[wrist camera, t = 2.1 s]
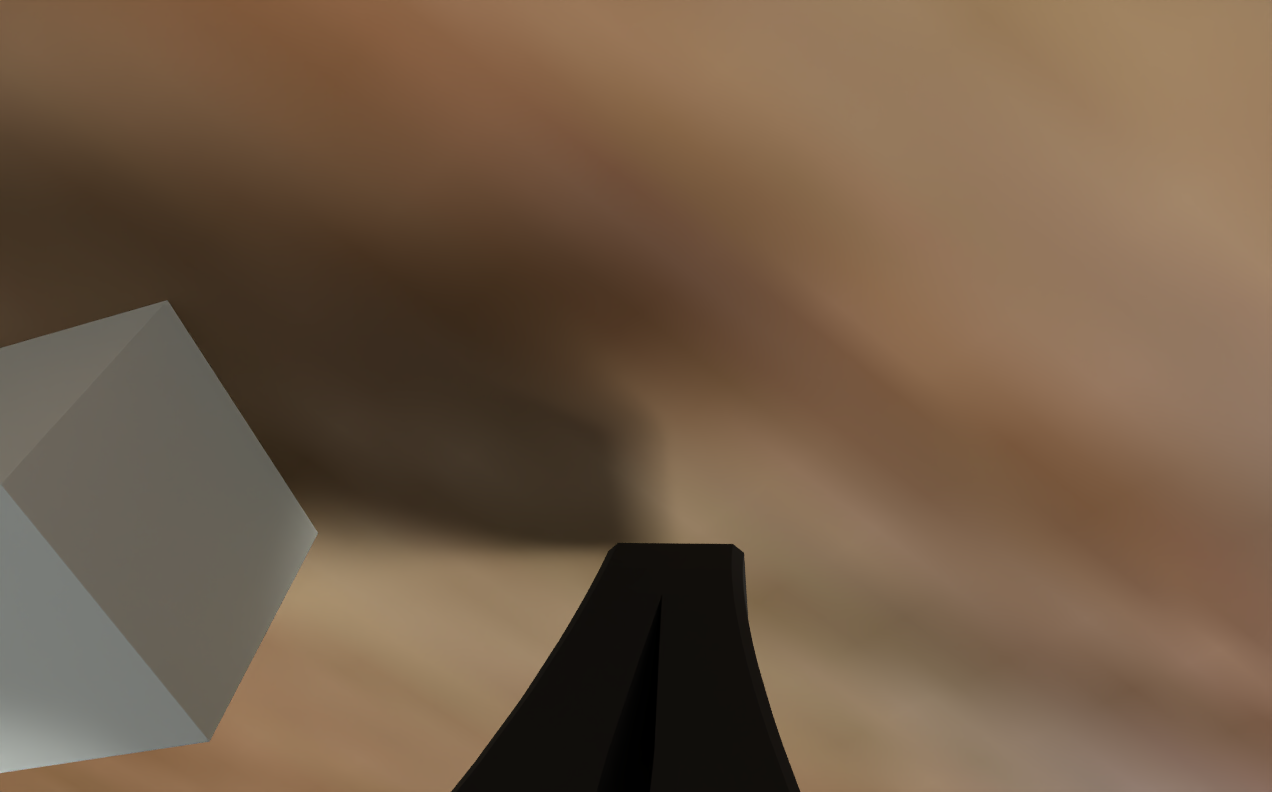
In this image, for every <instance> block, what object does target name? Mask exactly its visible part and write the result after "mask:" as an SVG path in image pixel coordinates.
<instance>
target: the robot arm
mask: <svg viewBox="0 0 1272 792" xmlns="http://www.w3.org/2000/svg"><path fill="white" fill-rule="evenodd" d="M451 792H800V789H799V787H798V784H797V782H796V779H795V776H794V774H793V771H792V768H791V766H790V763H789V760H788V758H787V755H786V752H785V750H784V747H783V744H782V741H781V738H780V735H779V732H778V729H777V726H776V723H775V720H774V717H773V714H772V711H771V708H770V704H769V701H768V697H767V694H766V691H765V687H764V684H763V680H762V677H761V674H760V670H759V667H758V663H757V659H756V655H755V651H754V647H753V642H752V637H751V632H750V627H749V622H748V610H747V594H746V578H745V562H744V553H743V552H742V551H741V550H740V549H738V548H737V547H736V546H735V545H733V544H668V543H617V544H616V545H615V546H614V547H613V548H612V549H610V550H609V551H608V553H607V555H606V557H605V559H604V561H603V563H602V565H601V567H600V569H599V571H598V573H597V575H596V577H595V579H594V581H593V583H592V585H591V586H590V588H589V590H588V592H587V594H586V596H585V597H584V599H583V601H582V603H581V604H580V606H579V608H578V610H577V611H576V613H575V615H574V616H573V618H572V620H571V622H570V623H569V625H568V627H567V628H566V630H565V632H564V633H563V635H562V637H561V638H560V640H559V642H558V643H557V645H556V646H555V648H554V649H553V651H552V652H551V654H550V655H549V657H548V659H547V660H546V662H545V663H544V665H543V666H542V668H541V669H540V671H539V672H538V674H537V675H536V677H535V679H534V680H533V682H532V683H531V685H530V686H529V688H528V689H527V691H526V692H525V694H524V695H523V697H522V698H521V700H520V701H519V703H518V704H517V705H516V707H515V708H514V710H513V711H512V712H511V714H510V715H509V716H508V718H507V719H506V720H505V722H504V723H503V725H502V726H501V727H500V729H499V730H498V731H497V733H496V734H495V735H494V737H493V738H492V739H491V741H490V742H489V744H488V745H487V746H486V748H485V749H484V750H483V752H482V753H481V754H480V756H479V757H478V759H477V760H476V761H475V762H474V764H473V765H472V766H471V768H470V769H469V770H468V771H467V773H466V774H465V775H464V776H463V778H462V779H461V780H460V781H459V783H458V784H457V785H456V786H455V788H454V789H453V790H452V791H451Z"/></svg>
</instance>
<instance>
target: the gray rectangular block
mask: <svg viewBox="0 0 1272 792" xmlns="http://www.w3.org/2000/svg"><path fill="white" fill-rule="evenodd" d="M317 534H318V532H317V530H316V529H315V527H314V526H313V524H312V523H311V521H310V520H309V518H308V516H307V515H306V513H305V512H304V510H303V509H302V507H301V506H300V504H299V503H298V501H297V499H296V498H295V496H294V495H293V493H292V492H291V490H290V489H289V487H288V486H287V484H286V482H285V481H284V479H283V478H282V476H281V475H280V473H279V472H278V470H277V469H276V467H275V465H274V464H273V462H272V461H271V459H270V458H269V456H268V455H267V453H266V452H265V450H264V448H263V447H262V445H261V444H260V442H259V441H258V439H257V438H256V436H255V435H254V433H253V431H252V430H251V428H250V427H249V425H248V424H247V422H246V421H245V419H244V418H243V416H242V415H241V413H240V411H239V410H238V408H237V407H236V405H235V404H234V402H233V401H232V399H231V398H230V396H229V394H228V393H227V391H226V390H225V388H224V387H223V385H222V384H221V382H220V381H219V379H218V377H217V376H216V374H215V373H214V371H213V370H212V368H211V367H210V365H209V364H208V362H207V360H206V359H205V357H204V356H203V354H202V353H201V351H200V350H199V348H198V347H197V345H196V343H195V342H194V340H193V339H192V337H191V336H190V334H189V333H188V331H187V330H186V328H185V326H184V325H183V323H182V322H181V320H180V319H179V317H178V316H177V314H176V313H175V311H174V309H173V308H172V306H171V305H170V303H169V302H168V300H166V301H162V302H159V303H155V304H152V305H149V306H145V307H142V308H138V309H135V310H131V311H128V312H124V313H121V314H117V315H114V316H110V317H107V318H103V319H100V320H96V321H93V322H89V323H86V324H82V325H79V326H75V327H72V328H68V329H65V330H61V331H58V332H54V333H51V334H47V335H44V336H40V337H37V338H33V339H30V340H26V341H23V342H20V343H16V344H13V345H9V346H6V347H2V348H0V773H3V772H10V771H16V770H23V769H30V768H36V767H43V766H50V765H56V764H63V763H70V762H76V761H83V760H90V759H96V758H103V757H109V756H116V755H123V754H129V753H136V752H143V751H149V750H156V749H163V748H169V747H176V746H183V745H189V744H196V743H203V742H209V741H210V740H211V738H212V736H213V734H214V732H215V730H216V728H217V726H218V724H219V722H220V720H221V719H222V717H223V715H224V713H225V711H226V709H227V707H228V705H229V703H230V701H231V699H232V697H233V696H234V694H235V692H236V690H237V688H238V686H239V684H240V682H241V680H242V678H243V676H244V674H245V672H246V671H247V669H248V667H249V665H250V663H251V661H252V659H253V657H254V655H255V653H256V651H257V649H258V648H259V646H260V644H261V642H262V640H263V638H264V636H265V634H266V632H267V630H268V628H269V626H270V624H271V623H272V621H273V619H274V617H275V615H276V613H277V611H278V609H279V607H280V605H281V603H282V601H283V600H284V598H285V596H286V594H287V592H288V590H289V588H290V586H291V584H292V582H293V580H294V578H295V576H296V575H297V573H298V571H299V569H300V567H301V565H302V563H303V561H304V559H305V557H306V555H307V553H308V552H309V550H310V548H311V546H312V544H313V542H314V540H315V538H316V536H317Z"/></svg>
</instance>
